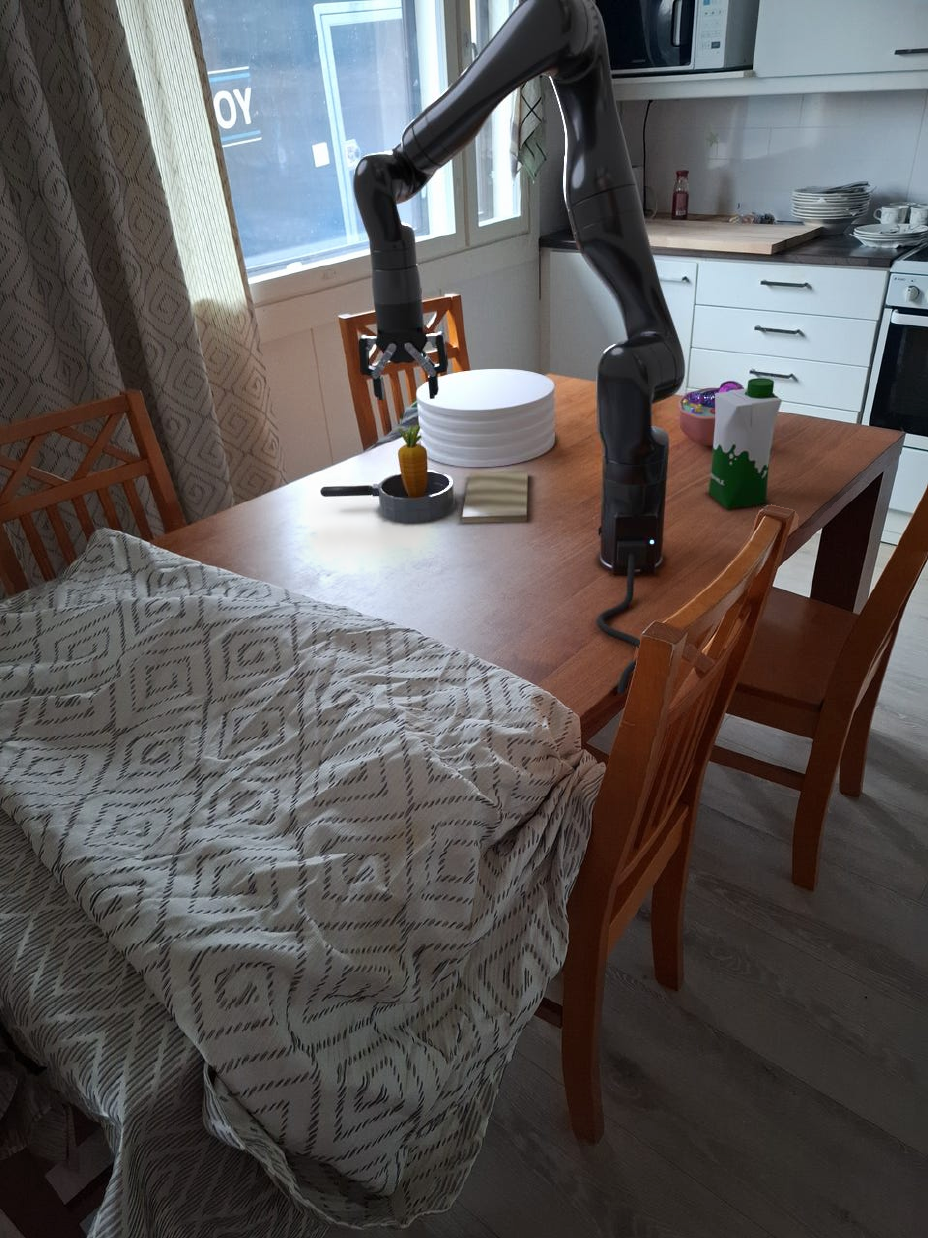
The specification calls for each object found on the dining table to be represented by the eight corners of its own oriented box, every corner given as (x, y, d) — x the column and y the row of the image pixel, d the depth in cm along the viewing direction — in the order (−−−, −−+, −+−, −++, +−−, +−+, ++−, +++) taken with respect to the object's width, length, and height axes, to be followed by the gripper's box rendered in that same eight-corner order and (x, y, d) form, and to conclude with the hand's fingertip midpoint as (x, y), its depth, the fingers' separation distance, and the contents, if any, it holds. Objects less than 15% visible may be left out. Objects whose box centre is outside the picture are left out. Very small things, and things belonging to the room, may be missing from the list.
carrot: (398, 507, 153) (388, 426, 145) (417, 498, 156) (409, 418, 148) (417, 514, 150) (409, 431, 142) (437, 504, 153) (430, 423, 145)
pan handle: (382, 492, 153) (381, 483, 152) (380, 496, 151) (379, 487, 150) (322, 494, 154) (320, 484, 153) (320, 498, 152) (318, 489, 151)
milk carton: (773, 504, 145) (789, 386, 134) (724, 512, 143) (736, 394, 133) (747, 485, 152) (760, 372, 142) (700, 492, 151) (709, 379, 140)
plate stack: (436, 475, 165) (431, 417, 159) (410, 430, 189) (405, 378, 183) (573, 455, 170) (574, 398, 164) (531, 413, 194) (530, 362, 188)
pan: (451, 522, 147) (449, 498, 144) (375, 524, 148) (372, 500, 146) (457, 491, 158) (455, 468, 156) (386, 494, 159) (384, 471, 157)
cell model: (653, 446, 171) (656, 390, 166) (711, 420, 182) (716, 366, 177) (727, 466, 160) (733, 406, 155) (784, 437, 171) (791, 380, 166)
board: (526, 521, 145) (526, 515, 145) (462, 523, 146) (461, 516, 146) (527, 476, 162) (527, 470, 162) (469, 478, 163) (469, 472, 163)
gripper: (348, 303, 132) (361, 407, 140) (440, 299, 131) (447, 404, 139) (357, 293, 138) (369, 393, 147) (444, 289, 137) (451, 390, 145)
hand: (407, 398), depth 143 cm, fingers open, 8 cm apart
